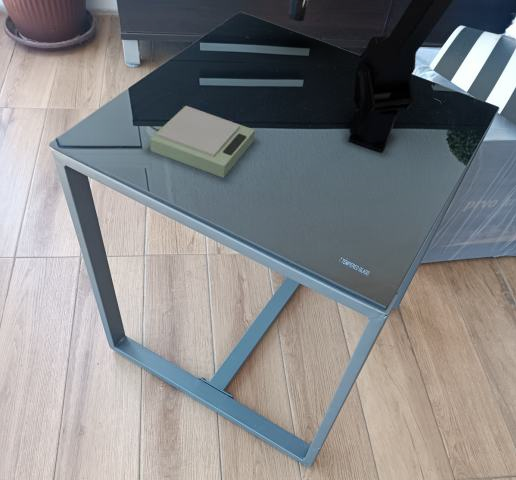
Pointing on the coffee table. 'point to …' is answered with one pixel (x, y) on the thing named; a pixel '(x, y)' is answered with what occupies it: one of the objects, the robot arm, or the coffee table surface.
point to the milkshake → (297, 9)
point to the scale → (202, 141)
